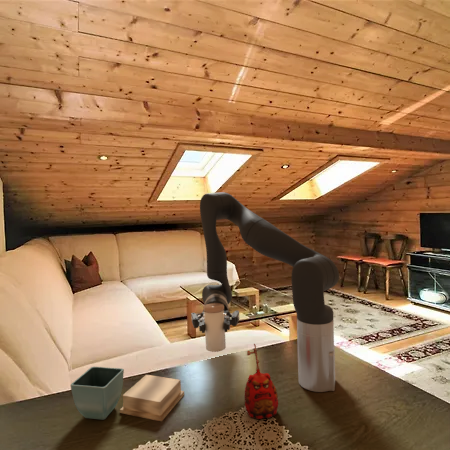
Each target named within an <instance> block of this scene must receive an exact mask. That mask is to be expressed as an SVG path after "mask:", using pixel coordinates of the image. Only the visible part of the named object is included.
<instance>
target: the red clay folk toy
mask: <svg viewBox="0 0 450 450" xmlns="http://www.w3.org/2000/svg"><path fill="white" fill-rule="evenodd" d="M256 345H257V344H256V343H253V346H254V348H252V350H253V351H250V350H247V353H246V356H250V355H252V354H254V356H255V363H256V369H255V370H256V371H255V373H253V374H250V375H248V378H247V380H246V381H247V382H246V384H245V388H244V408H245V410H246V413H247V415H248V417H250V418H251V419H252V418H253V419H257V420H262V419H270V418H273V417H275V416H277V414H278V413H277V412H278V408H279V407H278V406H279V400H278V397H279V395H278V392H277V388H276V386H275V385H274V382H273V381H272V379H271V375H270V373H269V372H266V373H262V372H261V369H260V366H259V363H260V361H259V359H258V351H260V349H259V348H258V349H257V346H256Z"/></svg>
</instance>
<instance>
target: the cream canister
mask: <svg viewBox="0 0 450 450" xmlns="http://www.w3.org/2000/svg"><path fill="white" fill-rule="evenodd" d="M203 310H204V321H205V333H204V336H205V349H206V351H208V352H210V353H211V352H212V353H216V352H217V353H218V352H221V351H224V350H226V348H227V346H226V344H227V343H226V332H225V329H224V305H223V304H220V303H211V304H206V305H203ZM203 310H202V311H203Z"/></svg>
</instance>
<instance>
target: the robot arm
mask: <svg viewBox="0 0 450 450" xmlns="http://www.w3.org/2000/svg"><path fill="white" fill-rule="evenodd" d="M199 201H200V202H199V212H200V220H201V227H202V233H203V237H204V243H205V248H206V275H207V278H208V279H209V280H211V281H216V282H218V283H220V284H207V285H205V286H204V287H203V289H202V292H201V298H202V301H203V303H204V305H206V304H211V303H220V304H223V305H224V329H225V333H228V330H230V329H231V326H232V327H237V326H238V323H239V321H240V311H239V310H235V311H232V312H230V311H229V304H230V303H231V302H232V300H233V292H232V289H231V286H230V282H229V278H228V258H227V252H226V250H225V247H224V245H223V243H222V241H221V240H220V238H219V235H218V231H217V221H219V220H227V221H230V222H232V223H233V224H234V225H236V226H237V227H238V229H239V233H240V237H241V238H242V240H243V242H244V243H246V244H247V245H248V246H249V247H250V248H252V249H253V250H254V251H256V252H257V253H259V254H260V255H262V256H265V257H267V258H270V259H273V260H276V261H279V262H282V263H285V264H287V265H289V266H291V267H292V271H291V275H290V276H291V277H290V278H291V290H292V303H293V304H292V305H293V307H294V310H295V312H296V335H297V336H296V337H297V341H296V342H297V370H298V372H297V374H298V377H297V378H298V384H299V385H300V386H301V388H304V389H305V390H308V391H311V392H315V393H323V392H328V391H330V392H335V388H336V361H335V360H336V354H335V353H336V351H335V349H336V347H335V336H334V335H335V332H334V331H335V330H334V329H335V328H334V327H335V326H334V324H335V323H334V311H333V308H332V307H331V306H330V305H328V304H325V303H326V302H325V294H324V293H325V292H326V291H327V290H330V289H332V288H334V287H335V286H336V285H337V284H338V282H339V280H340V273H339V269H338V266H337V265H336V264H335V262H334V261H333V260H332V259H331V258H329V257H327V256H326V255H324V254H322V253H320V252H318V251H316V250H314V249H311V247H308V246H306V245H304V244H303V243H301V242H299V241H298V240H296V239H295V238H293V237H292V236H290V235H289V234H287V233H285V232H284V231H283V230H281V229H279V228H278V227H276V225H274V224H273V223H271V222H269V221H267V220H266V219H265V218H263V217H261V216H259V215H258V214H257V213H255V212H254V211H252V210H251V209H248V208H247V207H246V206H245V205H243V204H242V203H241V202H240V201H239V200H238V199H236V198H235V197H234V196H233V195H232V194H230V193H228V192H224V191H223V192H222V191H221V192H208V193H207V192H206V193H204V194H203V195H202V196H201V198H200V200H199ZM204 305H203V306H204ZM190 315H191V323H192V326H193V328H194V329H198V328H199V332H201V333H202V334H205V321H204V310H202V312H200V314H198V313H196V312H191V313H190Z"/></svg>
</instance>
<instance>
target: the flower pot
mask: <svg viewBox="0 0 450 450" xmlns="http://www.w3.org/2000/svg"><path fill="white" fill-rule="evenodd" d="M124 371H125V369H124V368H119V367H103V366H91V367H90V368H88V369H87V370H86V371H85V372H84V373H83V374H81V375H80V376H79V377H78V378H76V380H74V381H73V382H71V384H70V391H71V394H72V399H73V403H74V405H75V408H76V410H77V411H78V412H79V413H80V415H82V417H84V418H85V419H90V420H91V419H94V420H101V421H103V420H106V419H107V418H108V416H109V415H110V414H111V413H112V412H113V410H114V409H115V408H116V407H117V404H118V403H119V401H120V398H121V396H122V392H123V388H124V387H123V386H124V385H123V384H124V373H125V372H124Z"/></svg>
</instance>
